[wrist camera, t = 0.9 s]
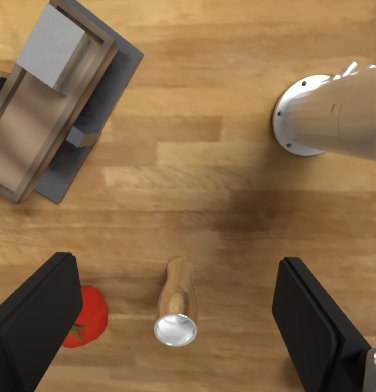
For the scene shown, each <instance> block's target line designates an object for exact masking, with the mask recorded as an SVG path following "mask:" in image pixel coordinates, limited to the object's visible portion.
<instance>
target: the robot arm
mask: <svg viewBox="0 0 376 392" xmlns="http://www.w3.org/2000/svg"><path fill="white" fill-rule="evenodd" d="M357 67H358V65H357V64H356V63H355V62H349V63H348V64H347V66H346V67H345V68H344V69H343V70H342V72H341V73H340V75H336V76H333V77H330V76H326V75H314V76H309V77H306V78H303V79H301V80H299V81H297V82H296V83H294V84H293V85H291V86H290V87H289V88H288V89H287V90H286V91H285V92H284V93H283V94H282V96H281V97H280V99H279V100H278V102H277V104H276V107H275V110H274V113H273V119H272V123H273V131H274V135H275V137H276V139H277V141H278V142H279V144H280V145H281V146H282V147H283V148H284V149H285V150H287V151H289V152H291V153H294V154H297V155H301V156H311V155H317V154H320V153H322V152H324V151H327V152H332V153H337V154H342V155H346V156H351V157H356V158H361V159H365V160H371V161H376V66H374V65H372V64H366V65H365V66H364V67H363V68H362V70H361V71H359V72H356V73H353V72H354V70H355V69H356V68H357ZM352 73H353V74H352ZM301 83H302V84H303V86H301ZM277 113H279V116H277ZM287 144H289V145H288V146H287ZM82 308H83V298H82V292H81V286H80V280H79V274H78V268H77V262H76V258H75V256H72V254H71V253H70V252H56V253H55V254H54V255H53V256H52V257H51V258H50V259H49V260H47V261H46V262H45V263H44V264H43V265H42V266H41V267H40V268H39V269H38V270H37V271H36V272H35V273H34V274H33V275H32V276H30V277H29V278H28V279H27V280H26V281H25V282H24V283H23V284H22V285H21V286H20V287H19V288H18V289H17V290H16V291H15V292H14V293H12V294H11V295H10V296H9V297H8V298H7V299H6V300H5V301H4V302H3V303H2V304H1V305H0V392H34V391H35V389H36V387H37V386H38V384H39V382H40V380H41V379H42V377H43V375H44V374H45V372H46V370H47V369H48V367H49V365H50V364H51V362H52V360H53V358H54V357H55V355H56V353H57V352H58V350H59V348H60V347H61V345H62V343H63V342H64V340H65V338H66V336H67V335H68V333H69V331H70V330H71V328H72V326H73V325H74V323H75V321H76V319H77V318H78V316H79V314H80V313H81V311H82ZM272 313H273V316H274V319H275V321H276V323H277V326H278V328H279V330H280V333H281V335H282V338H283V340H284V342H285V345H286V347H287V349H288V352H289V354H290V356H291V359H292V361H293V363H294V366H295V368H296V370H297V373H298V375H299V377H300V380H301V382H302V385H303V387H304V389H305V392H376V348H372V347H371V346H370V345H369V344H368V342H367V341H366V340H365V339H364V337H363V336H362V335H361V334H360V332H359V331H358V330H357V329H356V327H355V326H354V325H353V324H352V322H351V321H350V320H349V319H348V318H347V316H346V315H345V314H344V313H343V311H342V310H341V309H340V308H339V306H338V305H337V304H336V303H335V301H334V300H333V299H332V298H331V296H330V295H329V294H328V293H327V291H326V290H325V289H324V288H323V287H322V285H321V284H320V283H319V282H318V280H317V279H316V278H315V277H314V275H313V274H312V273H311V272H310V270H309V269H308V268H307V267H306V265H305V264H304V263H303V262H302V260H301V259H300V258H298V257H285V258H284V260H281V261H280V263H279V269H278V275H277V281H276V287H275V293H274V299H273V305H272Z"/></svg>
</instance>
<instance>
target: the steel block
mask: <svg viewBox="0 0 376 392" xmlns="http://www.w3.org/2000/svg"><path fill="white" fill-rule="evenodd" d="M95 48H96V46H95V44H94V43H93V42H92V40H91V39H90V38H89V36H88V35H87V34H86V32H85V31H84V30H82V29H81V28H80V27H78V26H77V25H76V24H75V23H73V22H72V21H71V20H69V19H68V18H67V17H65V16H64V15H63V14H62V13H60V12H59V11H58V10H56V9H55V8H54V7H53V6H51V5H50V4H49V3H47V4H46V6H45V8H44V10H43V12H42V13H41V15H40V17H39V19H38V21H37V23H36V24H35V26H34V28H33V30H32V32H31V34H30V35H29V37H28V39H27V41H26V43H25V45H24V46H23V48H22V50H21V52H20V54H19V56H18V57H17V59H16V61H15V63H17V64H18V65H20V66H21V67H23V68H24V69H25V70H27V71H28V72H30V73H31V74H32V75H34V76H35V77H37V78H38V79H40V80H41V81H42V82H44V83H45V84H47V85H48V86H50V87H51V88H53V89H54V90H56V91H58V92H60V93H62V94H64V95H66V96H67V95H68V94H69V92H70V90H71V89H72V87H73V85H74V84H75V82H76V80H77V79H78V77H79V75H80V74H81V72H82V70H83V68H84V67H85V65H86V63H87V62H88V60H89V58H90V57H91V55H92V53H93V52H94V50H95Z"/></svg>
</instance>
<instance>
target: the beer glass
mask: <svg viewBox="0 0 376 392" xmlns="http://www.w3.org/2000/svg"><path fill="white" fill-rule="evenodd" d="M194 273H195V267H194V264H193V263H192V262H191V261H190V260H189V259H187V258H184V257H177V258H174V259H172V260H171V261H170V262H169V263H168V265H167V280H166V282H165V284H164V287H163V289H162V291H161V294H160V297H159V300H158V304H157V309H156V317H155V326H154V333H155V335H156V337H157V338H158V339H159V340H160V341H161V342H162V343H164V344H166V345H169V346H184V345H186V344H189V343H190V342H191V341H193V340H194V338H195V337H196V334H197V320H198V303H197V296H196V292H195V288H194V284H193V276H194Z"/></svg>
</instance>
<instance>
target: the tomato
mask: <svg viewBox="0 0 376 392" xmlns="http://www.w3.org/2000/svg"><path fill="white" fill-rule="evenodd" d="M81 292H82V298H83V308H82V311H81V313H80V314H79V316H78V318H77V319H76V321H75V323H74V325H73V326H72V328H71V330H70V331H69V333H68V335H67V336H66V338H65V340H64V342H63V343H62V345H63V346H64V347H69V348H74V347H78V346H82V345H85V344H87V343H89V342H91V341H93V340H95V339H97V338H98V337H99V336H100V335H101V334H102V333H103V332H104V331H105V329H106V327H107V323H108V309H107V304H106V303H105V301H104V300H103V297H102V294H101V293H100V292H99V291H98V290H97V289H95V288H93V287H90V286H89V287H81Z"/></svg>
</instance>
